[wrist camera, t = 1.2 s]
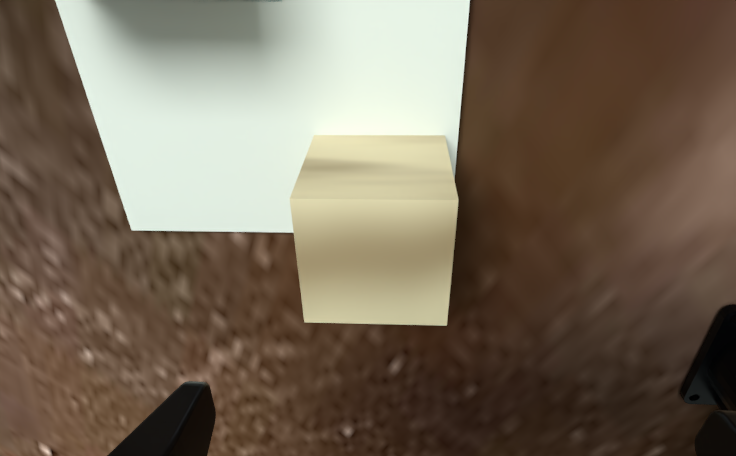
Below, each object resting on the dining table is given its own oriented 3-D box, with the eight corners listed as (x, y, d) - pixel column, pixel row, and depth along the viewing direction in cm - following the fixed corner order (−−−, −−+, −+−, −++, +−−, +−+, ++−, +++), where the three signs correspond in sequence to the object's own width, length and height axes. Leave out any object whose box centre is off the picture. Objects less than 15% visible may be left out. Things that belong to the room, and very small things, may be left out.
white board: (448, 229, 21) (449, 234, 21) (135, 225, 22) (131, 230, 22) (497, -349, 12) (500, -356, 12) (-42, -321, 13) (-54, -328, 12)
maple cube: (437, 244, 21) (446, 325, 17) (322, 242, 21) (304, 322, 17) (444, 135, 18) (458, 200, 14) (313, 134, 19) (289, 198, 15)
